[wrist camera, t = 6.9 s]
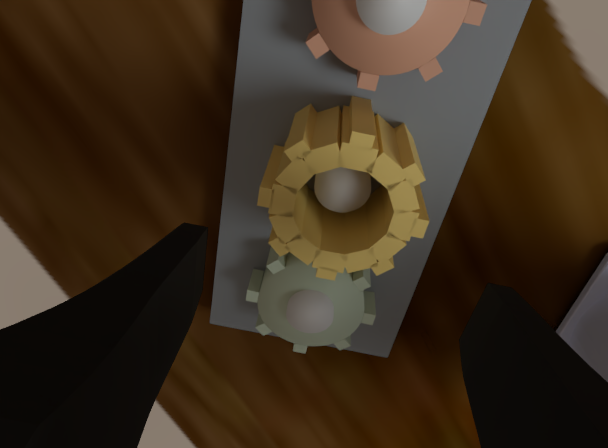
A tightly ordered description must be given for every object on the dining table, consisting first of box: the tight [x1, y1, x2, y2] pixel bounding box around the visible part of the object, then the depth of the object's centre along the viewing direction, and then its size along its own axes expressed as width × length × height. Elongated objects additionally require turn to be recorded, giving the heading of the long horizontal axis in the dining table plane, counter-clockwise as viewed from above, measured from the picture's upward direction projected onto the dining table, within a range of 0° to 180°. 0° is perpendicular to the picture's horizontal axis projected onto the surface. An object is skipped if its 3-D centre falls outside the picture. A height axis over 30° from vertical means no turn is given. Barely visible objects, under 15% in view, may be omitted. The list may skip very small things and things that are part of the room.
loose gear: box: [257, 96, 429, 281], centre depth 17 cm, size 6×6×4 cm
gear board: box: [210, 0, 531, 358], centre depth 18 cm, size 9×20×3 cm, turn 170°
